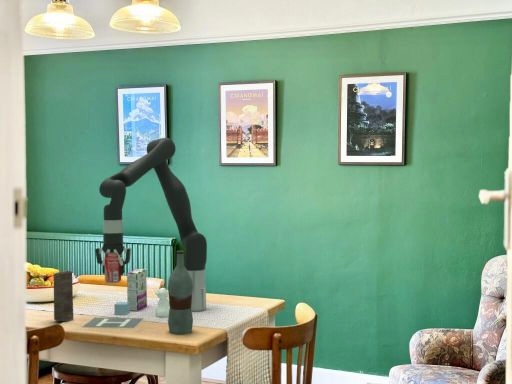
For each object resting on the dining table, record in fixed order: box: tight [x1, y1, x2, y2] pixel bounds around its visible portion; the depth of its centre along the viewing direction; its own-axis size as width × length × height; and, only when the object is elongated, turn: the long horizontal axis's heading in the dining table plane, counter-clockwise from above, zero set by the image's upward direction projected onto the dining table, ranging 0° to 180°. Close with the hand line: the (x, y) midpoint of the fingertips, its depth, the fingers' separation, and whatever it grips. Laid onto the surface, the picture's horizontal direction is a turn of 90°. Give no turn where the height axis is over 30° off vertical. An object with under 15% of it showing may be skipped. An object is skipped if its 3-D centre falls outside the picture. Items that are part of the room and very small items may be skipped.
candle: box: [52, 270, 74, 322], centre depth 261 cm, size 8×7×20 cm
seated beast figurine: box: [154, 287, 170, 318], centre depth 269 cm, size 10×9×12 cm
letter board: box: [82, 317, 145, 329], centre depth 257 cm, size 20×16×1 cm
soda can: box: [104, 252, 122, 284], centre depth 256 cm, size 6×6×12 cm
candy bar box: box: [126, 268, 148, 312], centre depth 285 cm, size 11×5×16 cm, turn 168°
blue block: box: [114, 301, 131, 316], centre depth 273 cm, size 5×5×5 cm
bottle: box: [167, 250, 194, 335], centre depth 244 cm, size 9×9×30 cm
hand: (113, 274), depth 256 cm, fingers closed on soda can, 5 cm apart
